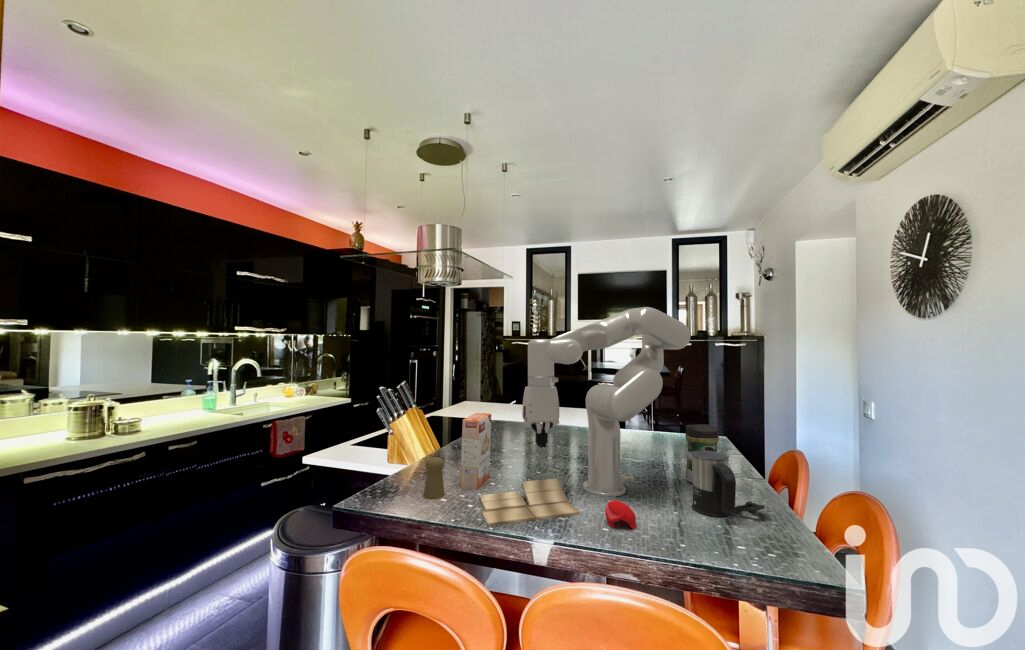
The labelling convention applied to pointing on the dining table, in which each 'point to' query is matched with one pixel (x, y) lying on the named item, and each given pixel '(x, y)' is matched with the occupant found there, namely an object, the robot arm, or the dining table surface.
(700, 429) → the coffee jar
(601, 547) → the dining table surface
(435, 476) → the cork
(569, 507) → the laid board
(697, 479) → the milk frother
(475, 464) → the cracker box
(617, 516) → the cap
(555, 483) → the plank
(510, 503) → the plank
